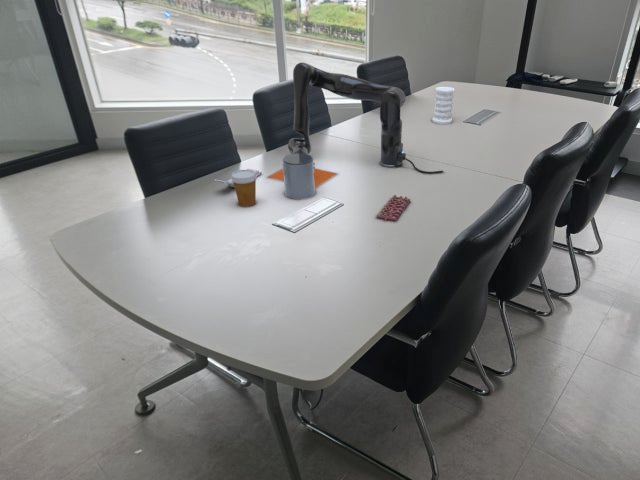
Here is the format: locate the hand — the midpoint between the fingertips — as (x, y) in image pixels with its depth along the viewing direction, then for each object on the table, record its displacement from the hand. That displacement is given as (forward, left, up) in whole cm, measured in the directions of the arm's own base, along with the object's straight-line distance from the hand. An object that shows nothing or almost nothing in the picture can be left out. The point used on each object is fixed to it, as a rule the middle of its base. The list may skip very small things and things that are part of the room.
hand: (300, 173), depth 208 cm
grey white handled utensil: (+25, +9, -6) cm, 27 cm away
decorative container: (-16, -120, -6) cm, 121 cm away
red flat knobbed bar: (-43, +1, -6) cm, 44 cm away
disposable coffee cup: (+9, +23, -6) cm, 26 cm away
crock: (-3, +5, -6) cm, 8 cm away
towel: (+6, -11, -6) cm, 14 cm away
